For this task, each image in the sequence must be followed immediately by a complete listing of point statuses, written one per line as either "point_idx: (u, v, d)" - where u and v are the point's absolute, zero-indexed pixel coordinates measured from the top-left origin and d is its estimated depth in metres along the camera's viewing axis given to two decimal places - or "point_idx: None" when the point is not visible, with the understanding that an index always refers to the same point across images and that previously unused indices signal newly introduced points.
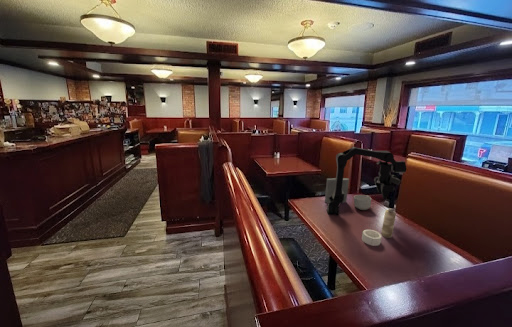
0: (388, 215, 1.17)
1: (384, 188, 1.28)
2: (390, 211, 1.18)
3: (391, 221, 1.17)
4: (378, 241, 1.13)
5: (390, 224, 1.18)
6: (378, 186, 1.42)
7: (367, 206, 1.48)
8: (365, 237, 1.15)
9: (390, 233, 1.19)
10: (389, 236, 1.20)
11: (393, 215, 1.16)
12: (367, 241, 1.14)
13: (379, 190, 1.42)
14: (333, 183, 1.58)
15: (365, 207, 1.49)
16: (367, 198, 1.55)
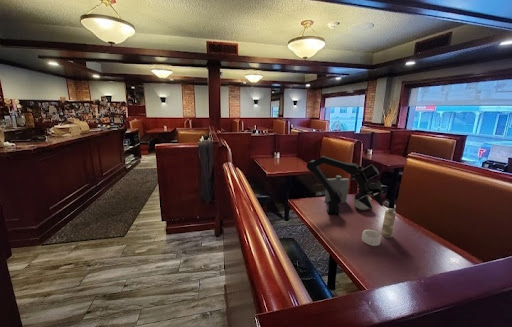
0: (388, 215, 1.17)
1: (355, 198, 1.27)
2: (390, 211, 1.18)
3: (391, 221, 1.17)
4: (378, 241, 1.13)
5: (390, 224, 1.18)
6: (376, 198, 1.31)
7: None
8: (365, 237, 1.15)
9: (390, 233, 1.19)
10: (389, 236, 1.20)
11: (393, 215, 1.16)
12: (367, 241, 1.14)
13: (379, 202, 1.29)
14: (333, 183, 1.58)
15: (365, 207, 1.49)
16: None
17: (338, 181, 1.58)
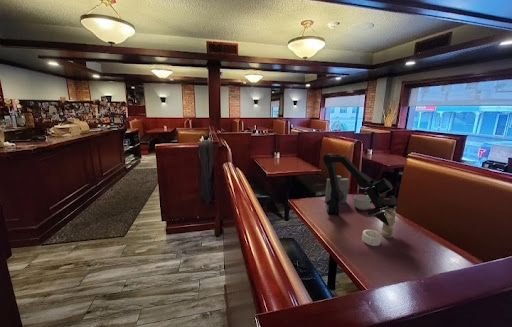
0: (388, 215, 1.17)
1: (368, 214, 1.20)
2: (390, 211, 1.18)
3: (391, 221, 1.17)
4: (378, 241, 1.13)
5: (390, 224, 1.18)
6: None
7: (367, 206, 1.48)
8: (365, 237, 1.15)
9: (390, 233, 1.19)
10: (389, 236, 1.20)
11: (393, 215, 1.16)
12: (367, 241, 1.14)
13: None
14: None
15: (365, 207, 1.49)
16: (367, 198, 1.55)
17: (338, 181, 1.58)
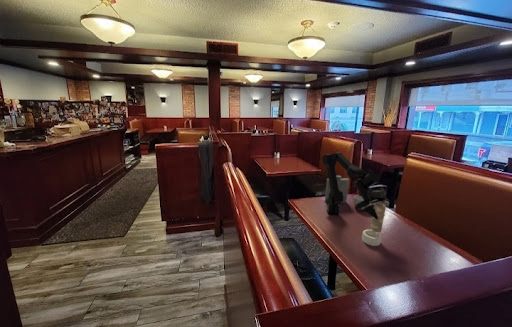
0: (377, 208, 1.12)
1: (356, 207, 1.14)
2: (380, 204, 1.12)
3: (381, 214, 1.12)
4: (378, 241, 1.13)
5: (379, 218, 1.12)
6: None
7: None
8: (365, 237, 1.15)
9: (380, 227, 1.14)
10: (379, 230, 1.14)
11: (383, 208, 1.11)
12: (367, 241, 1.14)
13: None
14: None
15: None
16: None
17: (338, 181, 1.58)
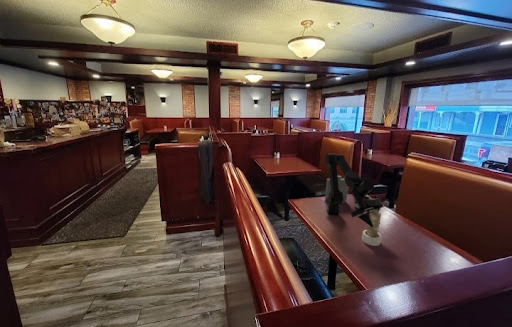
0: (372, 216, 1.12)
1: (352, 215, 1.15)
2: (375, 212, 1.12)
3: (376, 223, 1.12)
4: (378, 241, 1.13)
5: (374, 226, 1.12)
6: None
7: None
8: (365, 237, 1.15)
9: (375, 235, 1.14)
10: None
11: (378, 216, 1.11)
12: (367, 241, 1.14)
13: None
14: None
15: None
16: None
17: (338, 181, 1.58)
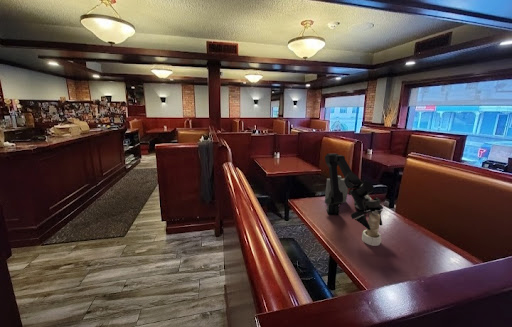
0: (372, 218, 1.12)
1: (352, 217, 1.15)
2: (374, 214, 1.12)
3: (375, 224, 1.12)
4: (378, 241, 1.13)
5: (374, 228, 1.13)
6: None
7: None
8: (365, 237, 1.15)
9: (374, 237, 1.14)
10: None
11: (377, 218, 1.11)
12: (367, 241, 1.14)
13: None
14: None
15: None
16: None
17: (338, 181, 1.58)
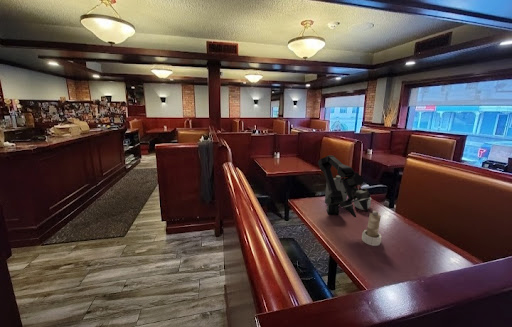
0: (372, 218, 1.12)
1: (340, 205, 1.25)
2: (374, 214, 1.12)
3: (375, 224, 1.12)
4: (378, 241, 1.13)
5: (374, 228, 1.13)
6: (362, 204, 1.29)
7: (367, 206, 1.48)
8: (365, 237, 1.15)
9: (374, 237, 1.14)
10: None
11: (377, 218, 1.11)
12: (367, 241, 1.14)
13: (364, 208, 1.28)
14: None
15: None
16: None
17: (338, 181, 1.58)
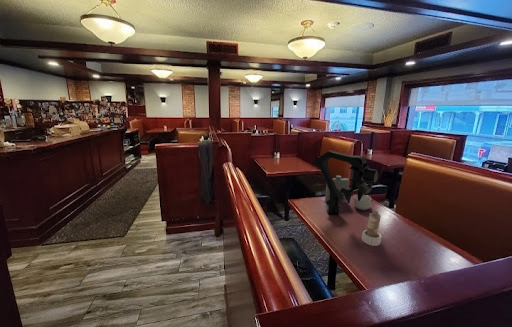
0: (372, 218, 1.12)
1: (341, 190, 1.30)
2: (374, 214, 1.12)
3: (375, 224, 1.12)
4: (378, 241, 1.13)
5: (374, 228, 1.13)
6: (358, 192, 1.37)
7: (367, 206, 1.48)
8: (365, 237, 1.15)
9: (374, 237, 1.14)
10: None
11: (377, 218, 1.11)
12: (367, 241, 1.14)
13: (358, 196, 1.37)
14: None
15: (365, 207, 1.49)
16: (367, 198, 1.55)
17: (338, 181, 1.58)
